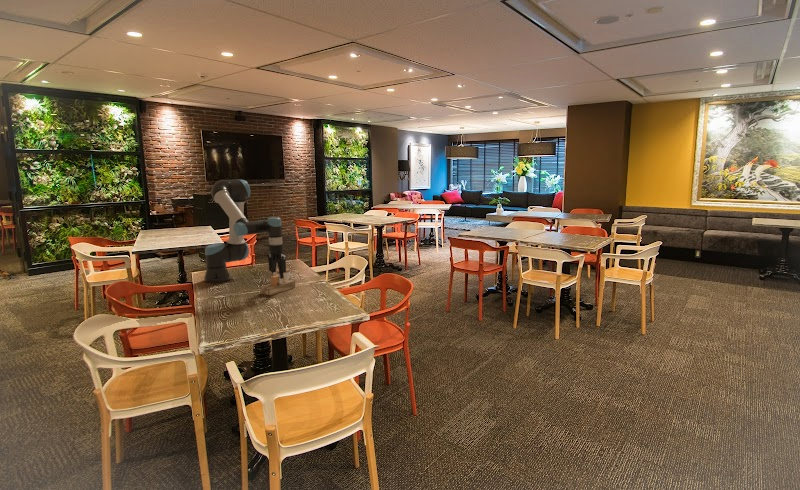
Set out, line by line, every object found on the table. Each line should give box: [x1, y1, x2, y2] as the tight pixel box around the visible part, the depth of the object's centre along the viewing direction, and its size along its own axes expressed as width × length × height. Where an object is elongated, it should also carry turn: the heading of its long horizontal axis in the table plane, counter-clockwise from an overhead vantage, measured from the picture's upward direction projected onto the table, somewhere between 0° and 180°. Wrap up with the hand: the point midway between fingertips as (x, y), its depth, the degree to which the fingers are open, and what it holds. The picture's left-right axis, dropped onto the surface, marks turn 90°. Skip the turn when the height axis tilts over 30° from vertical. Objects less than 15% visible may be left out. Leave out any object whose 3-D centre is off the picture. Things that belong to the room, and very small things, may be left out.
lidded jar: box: [276, 267, 291, 280], centre depth 270 cm, size 11×11×9 cm
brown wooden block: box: [259, 279, 296, 296], centre depth 251 cm, size 8×20×4 cm, turn 150°
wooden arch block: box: [270, 274, 285, 286], centre depth 250 cm, size 3×8×9 cm, turn 150°
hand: (278, 283), depth 250 cm, fingers open, 4 cm apart
